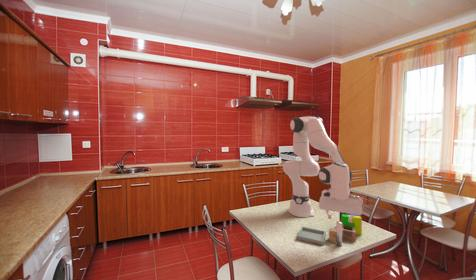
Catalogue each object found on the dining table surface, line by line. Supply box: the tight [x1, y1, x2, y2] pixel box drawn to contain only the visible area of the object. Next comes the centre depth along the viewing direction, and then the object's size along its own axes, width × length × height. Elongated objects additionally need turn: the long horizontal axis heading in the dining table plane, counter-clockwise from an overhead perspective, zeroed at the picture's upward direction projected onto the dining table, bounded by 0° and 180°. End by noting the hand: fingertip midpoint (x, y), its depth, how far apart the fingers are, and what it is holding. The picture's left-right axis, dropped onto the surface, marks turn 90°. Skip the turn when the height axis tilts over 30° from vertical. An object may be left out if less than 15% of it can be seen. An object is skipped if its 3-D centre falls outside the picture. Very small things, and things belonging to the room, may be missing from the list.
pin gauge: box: [335, 221, 343, 248], centre depth 110 cm, size 3×3×12 cm
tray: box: [296, 226, 327, 246], centre depth 118 cm, size 13×13×2 cm
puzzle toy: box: [339, 212, 363, 236], centre depth 127 cm, size 10×10×10 cm
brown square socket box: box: [342, 225, 357, 242], centre depth 118 cm, size 8×8×5 cm
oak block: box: [328, 227, 336, 244], centre depth 115 cm, size 4×4×6 cm
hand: (339, 220), depth 109 cm, fingers open, 8 cm apart
